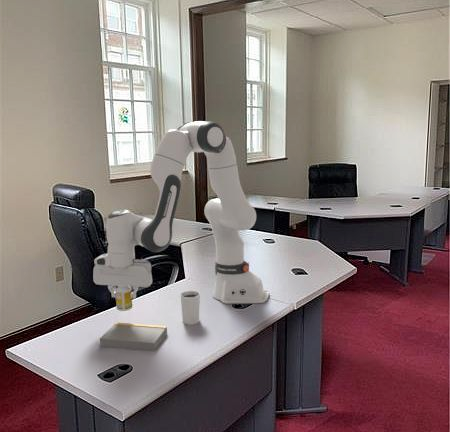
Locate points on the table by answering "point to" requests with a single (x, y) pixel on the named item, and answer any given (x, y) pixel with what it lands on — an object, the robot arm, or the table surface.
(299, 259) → the table surface
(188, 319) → the white coffee cup
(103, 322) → the table surface
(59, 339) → the table surface
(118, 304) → the supplement bottle
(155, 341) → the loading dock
